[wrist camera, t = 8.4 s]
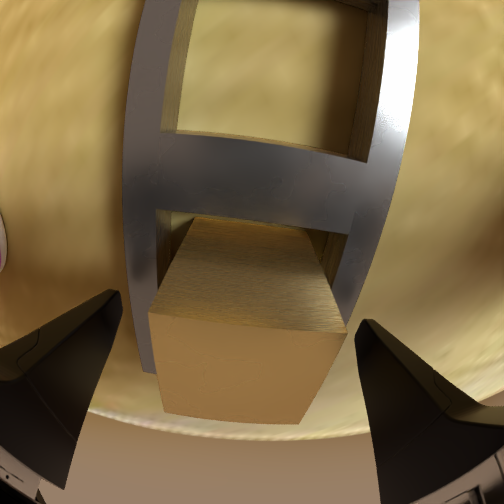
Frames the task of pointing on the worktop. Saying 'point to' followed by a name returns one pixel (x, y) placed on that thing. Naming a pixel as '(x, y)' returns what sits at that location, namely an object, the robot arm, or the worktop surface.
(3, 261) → the supplement bottle
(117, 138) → the worktop surface
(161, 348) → the wooden block
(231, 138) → the grey double window frame
